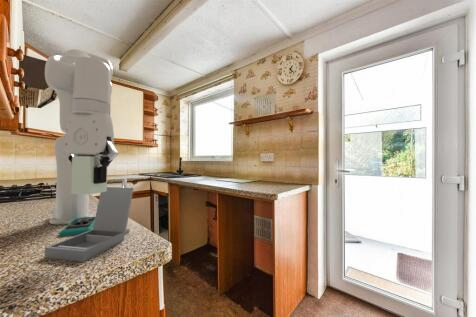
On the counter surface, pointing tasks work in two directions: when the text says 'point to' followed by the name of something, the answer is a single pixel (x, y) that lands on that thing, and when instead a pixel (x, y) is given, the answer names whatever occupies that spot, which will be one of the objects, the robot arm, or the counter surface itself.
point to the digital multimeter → (78, 226)
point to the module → (85, 176)
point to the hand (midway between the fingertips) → (90, 181)
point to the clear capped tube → (124, 185)
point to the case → (84, 245)
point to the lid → (113, 209)
